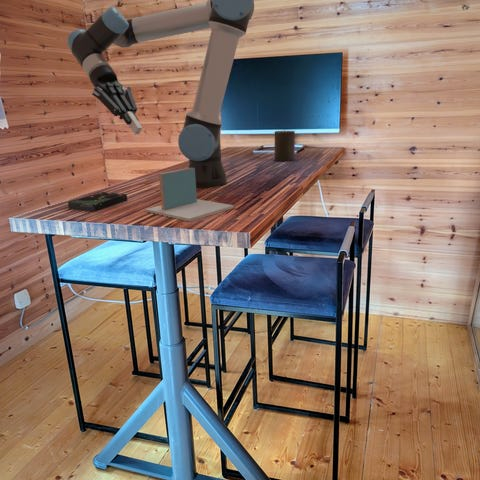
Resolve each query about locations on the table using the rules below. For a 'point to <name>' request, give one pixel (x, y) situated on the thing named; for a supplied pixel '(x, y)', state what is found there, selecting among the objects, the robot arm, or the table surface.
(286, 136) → the pillar candle
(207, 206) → the mat
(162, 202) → the tile
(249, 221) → the table surface
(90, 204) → the disk drive
